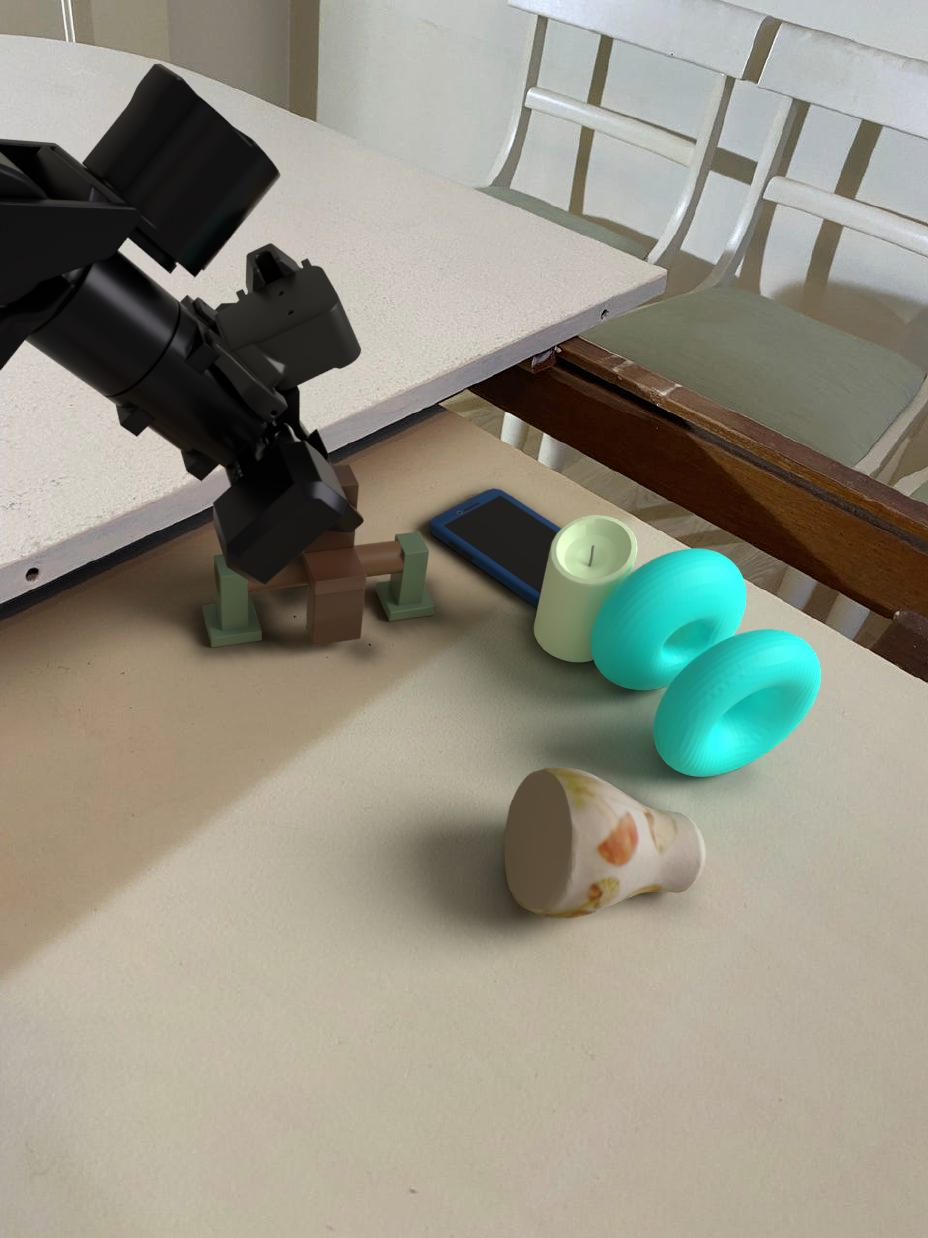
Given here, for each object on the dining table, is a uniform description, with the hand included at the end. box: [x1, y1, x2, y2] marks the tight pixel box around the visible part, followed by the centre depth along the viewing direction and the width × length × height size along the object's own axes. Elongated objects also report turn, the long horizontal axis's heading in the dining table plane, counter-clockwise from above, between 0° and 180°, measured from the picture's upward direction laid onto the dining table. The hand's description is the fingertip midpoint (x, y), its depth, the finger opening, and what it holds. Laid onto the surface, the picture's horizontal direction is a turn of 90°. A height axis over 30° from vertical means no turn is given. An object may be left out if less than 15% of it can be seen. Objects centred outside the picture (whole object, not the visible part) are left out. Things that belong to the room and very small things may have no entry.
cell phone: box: [428, 487, 562, 609], centre depth 71 cm, size 7×14×1 cm, turn 47°
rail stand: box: [202, 531, 436, 648], centre depth 63 cm, size 14×3×5 cm, turn 110°
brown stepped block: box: [299, 464, 367, 647], centre depth 61 cm, size 7×3×10 cm, turn 20°
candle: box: [533, 514, 638, 663], centre depth 63 cm, size 5×5×8 cm
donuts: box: [591, 548, 822, 778], centre depth 58 cm, size 10×10×10 cm
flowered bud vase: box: [503, 766, 707, 919], centre depth 51 cm, size 8×10×10 cm
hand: (350, 510), depth 60 cm, fingers closed
